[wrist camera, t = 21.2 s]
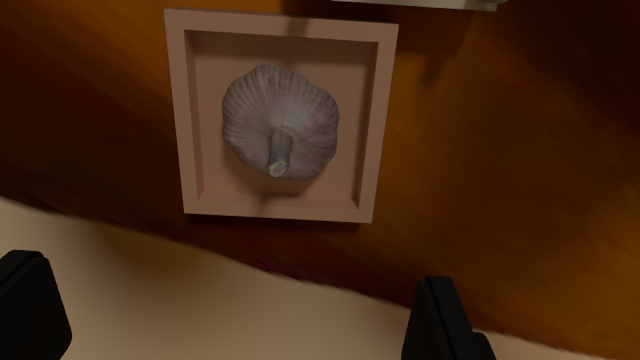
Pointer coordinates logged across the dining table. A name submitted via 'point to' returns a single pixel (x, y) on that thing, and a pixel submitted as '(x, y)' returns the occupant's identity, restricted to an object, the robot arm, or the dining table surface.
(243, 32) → the terracotta dish
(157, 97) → the dining table surface
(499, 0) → the peg rest
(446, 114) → the dining table surface
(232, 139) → the garlic bulb
